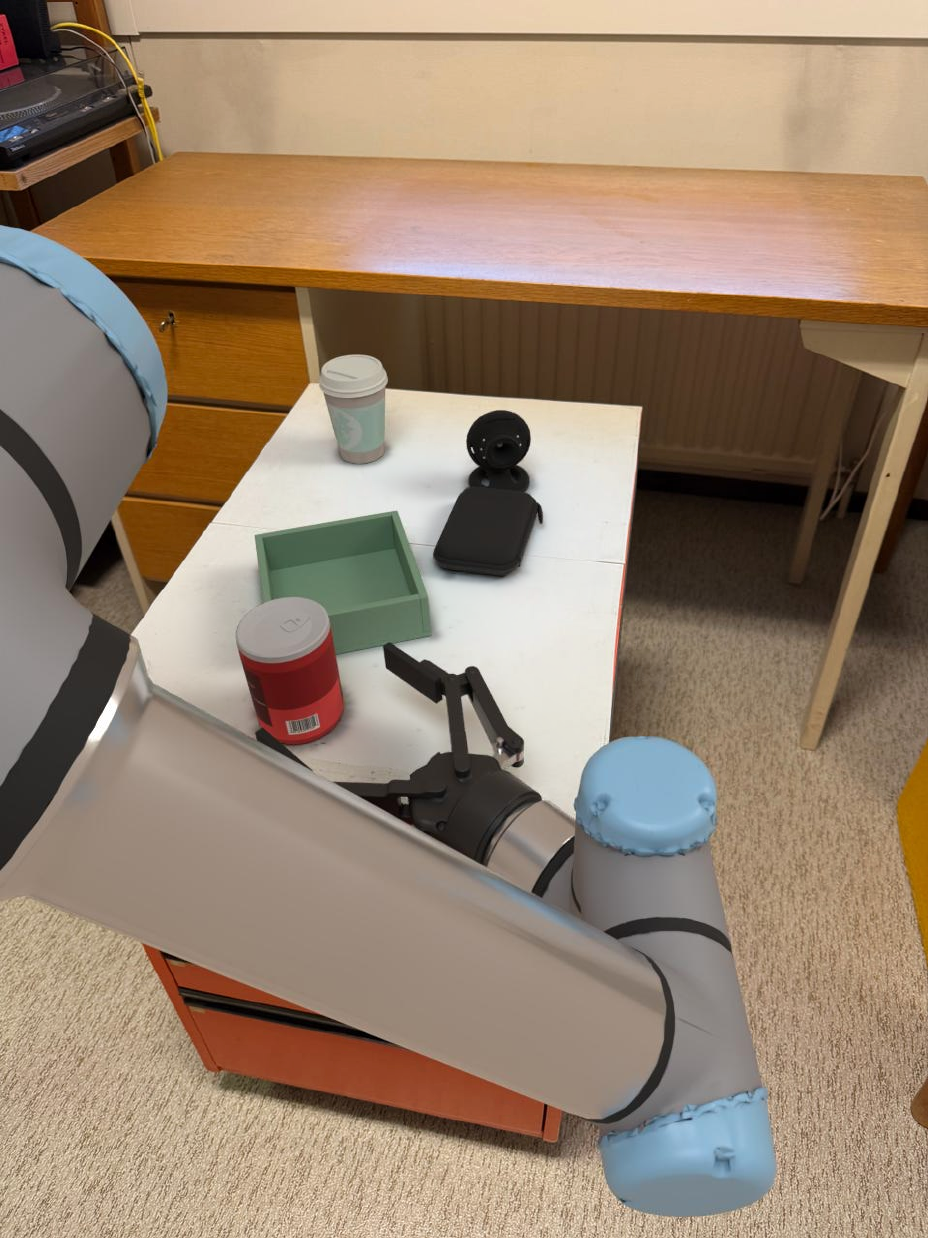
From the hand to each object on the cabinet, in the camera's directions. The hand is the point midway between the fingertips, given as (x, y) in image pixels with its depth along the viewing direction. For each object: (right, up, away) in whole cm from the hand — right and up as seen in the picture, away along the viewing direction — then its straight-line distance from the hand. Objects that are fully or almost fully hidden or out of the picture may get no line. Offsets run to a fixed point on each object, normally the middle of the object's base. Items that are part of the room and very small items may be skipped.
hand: (327, 695), depth 75 cm
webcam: (+16, +23, +35) cm, 45 cm away
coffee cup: (-2, +28, +42) cm, 51 cm away
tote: (-1, +8, +19) cm, 20 cm away
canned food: (-3, -2, +7) cm, 8 cm away
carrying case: (+15, +15, +26) cm, 34 cm away
